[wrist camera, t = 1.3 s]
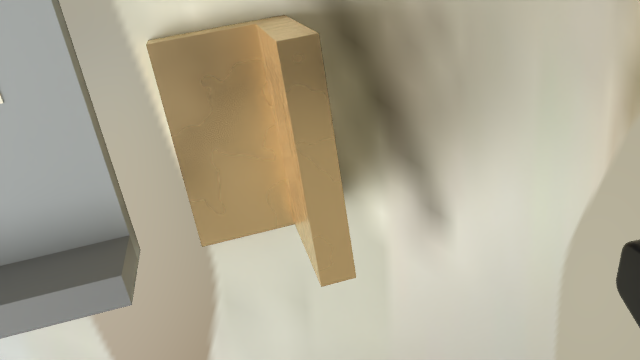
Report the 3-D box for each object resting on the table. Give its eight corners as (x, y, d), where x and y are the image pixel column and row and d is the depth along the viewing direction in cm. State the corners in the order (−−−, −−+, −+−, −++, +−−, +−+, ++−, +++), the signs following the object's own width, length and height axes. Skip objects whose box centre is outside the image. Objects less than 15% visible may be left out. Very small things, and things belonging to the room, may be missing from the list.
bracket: (316, 205, 24) (356, 277, 18) (201, 233, 23) (206, 317, 18) (283, 14, 21) (318, 33, 15) (148, 40, 20) (134, 68, 14)
